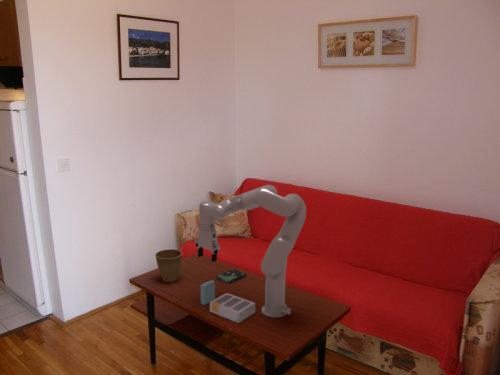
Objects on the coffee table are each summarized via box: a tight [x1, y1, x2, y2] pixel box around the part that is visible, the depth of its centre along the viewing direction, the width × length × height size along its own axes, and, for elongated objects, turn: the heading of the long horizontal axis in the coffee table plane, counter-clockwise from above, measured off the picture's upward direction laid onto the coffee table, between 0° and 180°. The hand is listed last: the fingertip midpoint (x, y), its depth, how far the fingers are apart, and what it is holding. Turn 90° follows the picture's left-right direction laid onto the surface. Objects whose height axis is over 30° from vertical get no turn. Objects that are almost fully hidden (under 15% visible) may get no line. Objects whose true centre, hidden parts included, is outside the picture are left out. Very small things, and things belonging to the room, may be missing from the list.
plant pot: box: [154, 248, 183, 283], centre depth 245 cm, size 15×15×16 cm
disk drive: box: [215, 268, 247, 285], centre depth 250 cm, size 10×3×15 cm
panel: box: [200, 279, 216, 306], centre depth 221 cm, size 2×8×10 cm, turn 143°
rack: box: [209, 292, 256, 324], centre depth 210 cm, size 18×13×5 cm
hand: (207, 258), depth 218 cm, fingers open, 9 cm apart
